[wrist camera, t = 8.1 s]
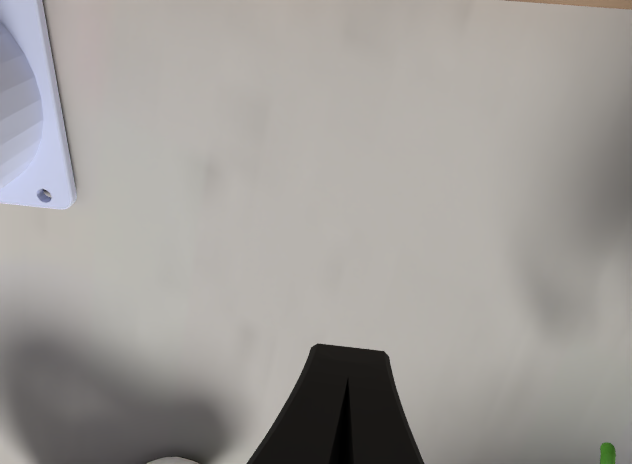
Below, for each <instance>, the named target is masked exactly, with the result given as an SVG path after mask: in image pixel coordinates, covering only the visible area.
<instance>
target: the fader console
mask: <svg viewBox="0 0 632 464" xmlns="http://www.w3.org/2000/svg"><path fill="white" fill-rule="evenodd" d="M507 1H521V2H535V3H548V4H562V5H576V6H590V7H604V8H618V9H632V0H507Z"/></svg>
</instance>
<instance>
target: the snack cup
mask: <svg viewBox="0 0 632 464" xmlns="http://www.w3.org/2000/svg"><path fill="white" fill-rule="evenodd" d="M600 450H601V458H600V464H615V457H616V454H615V448H614V446H613V445H612V444H611V443H603V444H602V445H601V448H600Z"/></svg>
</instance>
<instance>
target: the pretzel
mask: <svg viewBox="0 0 632 464" xmlns="http://www.w3.org/2000/svg"><path fill="white" fill-rule="evenodd" d="M146 464H199V463H197V462H194V461H192V460H188V459H184V458H181V457H163V458H160V459H157V460H154V461H151V462H148V463H146Z"/></svg>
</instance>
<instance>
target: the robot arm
mask: <svg viewBox="0 0 632 464" xmlns="http://www.w3.org/2000/svg"><path fill="white" fill-rule="evenodd" d="M43 189H44V190H47V191H48V192H49V193H50V194H51V196H52V198H51V197H48V196H46V195H45V194H44V192H43ZM76 197H77V194H76V188H75V183H74V177H73V171H72V166H71V160H70V154H69V149H68V143H67V137H66V132H65V126H64V121H63V115H62V109H61V104H60V98H59V92H58V87H57V81H56V75H55V70H54V64H53V59H52V53H51V47H50V42H49V36H48V30H47V25H46V19H45V13H44V8H43V2H42V0H0V203H4V204H14V205H24V206H33V207H43V208H53V209H67V208H69V207H70V206H71V205H72V204H73V203H74V202H75V201H76ZM247 464H424V462H423V459H422V457H421V455H420V452H419V450H418V447H417V445H416V442H415V440H414V437H413V435H412V432H411V430H410V427H409V425H408V422H407V419H406V416H405V414H404V411H403V408H402V405H401V402H400V399H399V396H398V392H397V389H396V386H395V382H394V378H393V374H392V370H391V365H390V359H389V356H388V355H387V354H386V353H385V352H384V351H377V350H369V349H360V348H352V347H343V346H334V345H326V344H316V345H315V346H313V347H311V350H310V353H309V356H308V359H307V361H306V363H305V366H304V368H303V370H302V373H301V375H300V377H299V379H298V381H297V383H296V385H295V387H294V389H293V390H292V392H291V394H290V396H289V398H288V400H287V401H286V403H285V405H284V407H283V408H282V410H281V412H280V413H279V415H278V417H277V418H276V420H275V422H274V423H273V425H272V427H271V428H270V430H269V431H268V433H267V435H266V436H265V438H264V439H263V441H262V442H261V444H260V445H259V446H258V448H257V449H256V451H255V452H254V454H253V455H252V457H251V458H250V459H249V461H248V462H247Z"/></svg>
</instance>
